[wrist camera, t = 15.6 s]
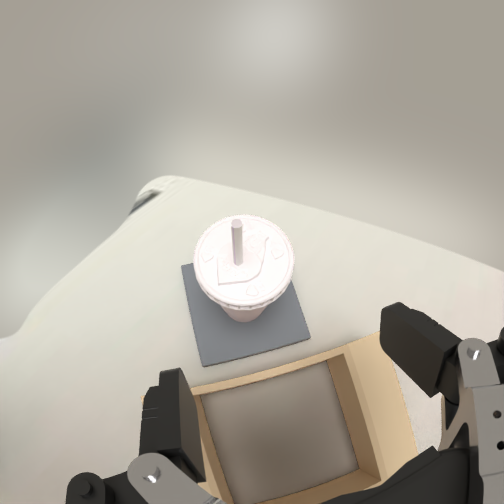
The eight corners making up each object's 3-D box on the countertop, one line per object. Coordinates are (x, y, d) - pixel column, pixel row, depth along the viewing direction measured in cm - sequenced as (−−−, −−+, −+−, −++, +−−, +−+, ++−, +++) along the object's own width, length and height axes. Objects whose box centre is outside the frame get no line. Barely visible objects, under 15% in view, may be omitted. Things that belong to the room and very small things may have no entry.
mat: (203, 367, 24) (202, 366, 23) (182, 269, 29) (181, 265, 28) (308, 339, 26) (310, 337, 25) (277, 247, 30) (278, 243, 29)
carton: (197, 517, 17) (188, 539, 13) (158, 396, 23) (140, 396, 18) (394, 456, 20) (420, 464, 15) (359, 341, 26) (381, 330, 21)
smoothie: (195, 307, 26) (152, 224, 14) (239, 258, 28) (236, 151, 16) (249, 351, 24) (255, 306, 12) (292, 297, 27) (332, 209, 14)
